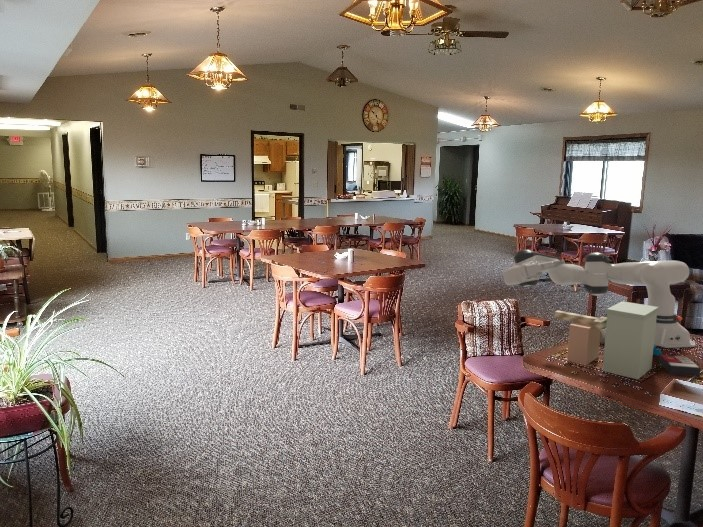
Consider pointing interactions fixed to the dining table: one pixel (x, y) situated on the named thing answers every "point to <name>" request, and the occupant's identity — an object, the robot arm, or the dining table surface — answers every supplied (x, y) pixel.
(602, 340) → the ceramic sculpture
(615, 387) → the dining table surface
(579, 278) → the robot arm
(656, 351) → the gear
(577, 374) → the dining table surface
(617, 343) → the tall pale green box
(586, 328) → the light brown box
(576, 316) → the wooden key
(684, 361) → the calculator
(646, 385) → the dining table surface
